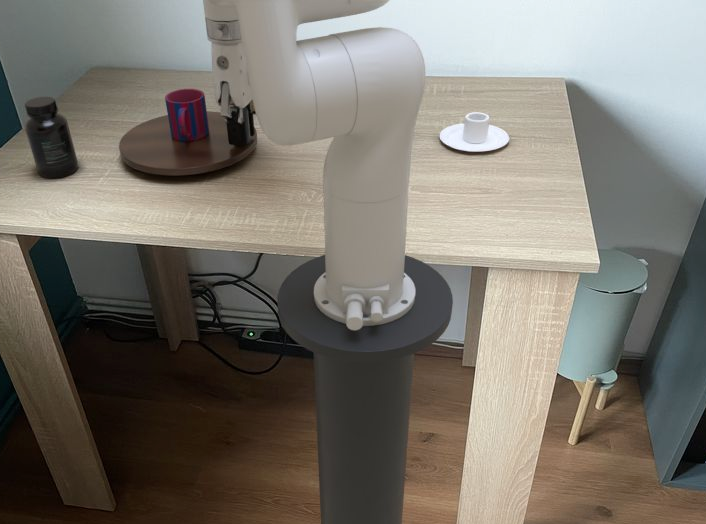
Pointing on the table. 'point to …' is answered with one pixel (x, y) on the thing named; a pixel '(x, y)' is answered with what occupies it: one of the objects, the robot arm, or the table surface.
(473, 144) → the candle holder
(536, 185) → the table surface
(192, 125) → the mug
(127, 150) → the turntable
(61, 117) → the supplement bottle
